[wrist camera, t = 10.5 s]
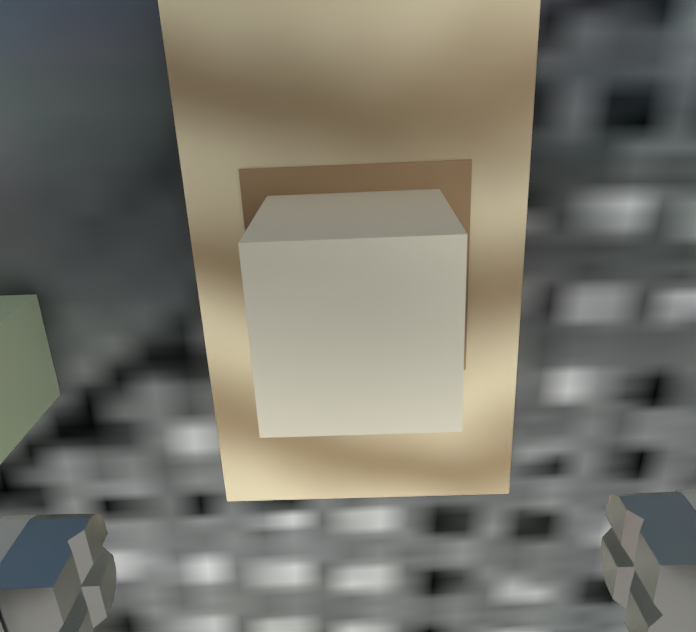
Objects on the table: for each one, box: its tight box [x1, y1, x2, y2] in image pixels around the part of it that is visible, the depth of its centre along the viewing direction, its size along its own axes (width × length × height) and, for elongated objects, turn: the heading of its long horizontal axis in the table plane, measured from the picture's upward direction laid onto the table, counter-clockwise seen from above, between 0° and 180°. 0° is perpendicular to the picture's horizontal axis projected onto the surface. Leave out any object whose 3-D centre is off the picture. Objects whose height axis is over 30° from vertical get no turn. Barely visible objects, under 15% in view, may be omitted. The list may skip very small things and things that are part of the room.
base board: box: [158, 0, 541, 501], centre depth 24 cm, size 20×12×1 cm, turn 2°
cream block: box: [238, 189, 467, 438], centre depth 21 cm, size 6×6×6 cm
